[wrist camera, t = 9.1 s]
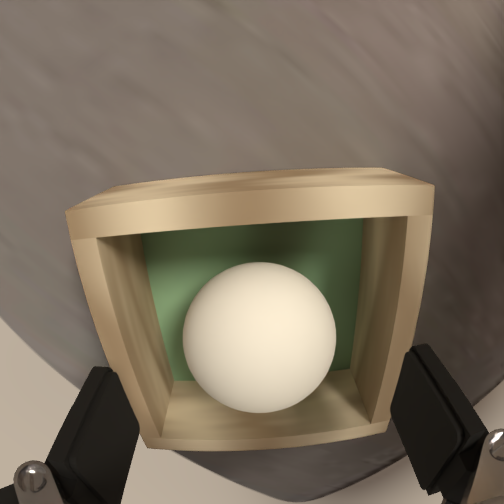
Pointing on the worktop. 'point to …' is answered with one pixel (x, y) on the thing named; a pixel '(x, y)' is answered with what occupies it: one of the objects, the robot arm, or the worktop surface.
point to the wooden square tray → (247, 251)
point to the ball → (259, 337)
